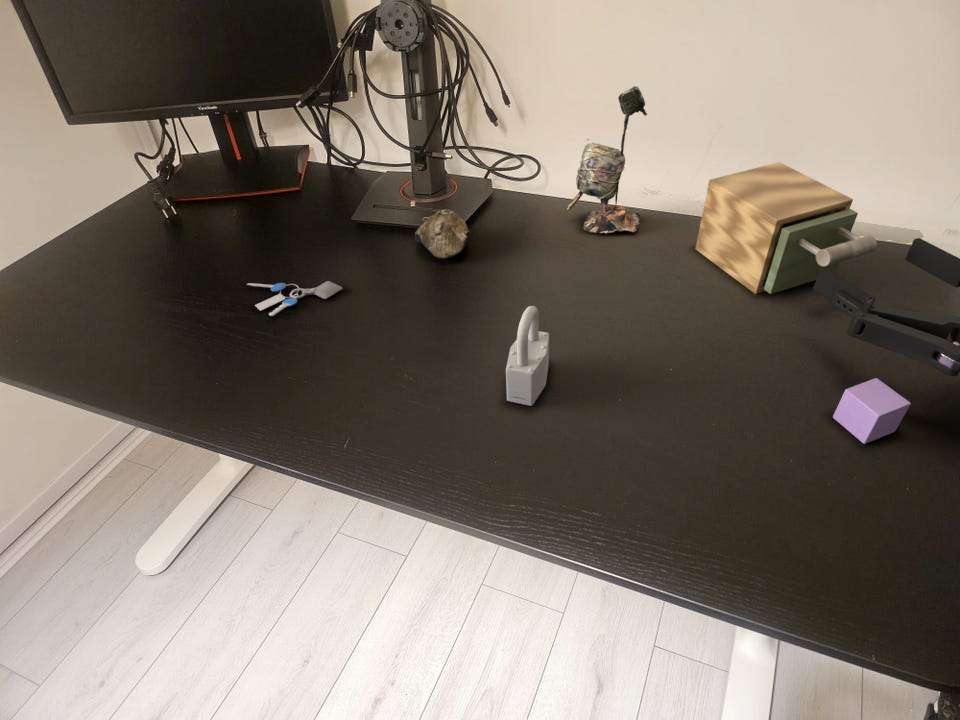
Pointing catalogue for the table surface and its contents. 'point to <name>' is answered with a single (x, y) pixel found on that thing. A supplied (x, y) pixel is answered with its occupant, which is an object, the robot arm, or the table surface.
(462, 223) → the fossilized seashell
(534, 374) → the padlock
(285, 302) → the key chain
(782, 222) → the wooden drawer box
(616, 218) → the metal wire sculpture
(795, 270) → the pull-out drawer
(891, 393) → the purple block
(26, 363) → the table surface
